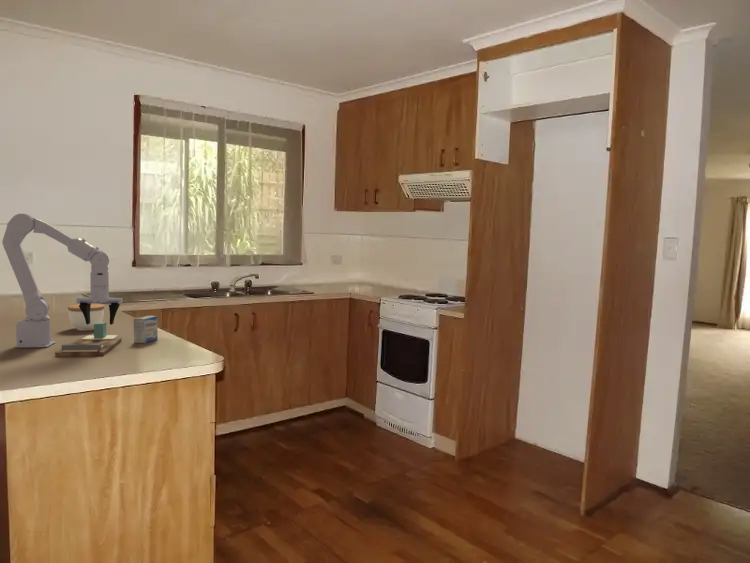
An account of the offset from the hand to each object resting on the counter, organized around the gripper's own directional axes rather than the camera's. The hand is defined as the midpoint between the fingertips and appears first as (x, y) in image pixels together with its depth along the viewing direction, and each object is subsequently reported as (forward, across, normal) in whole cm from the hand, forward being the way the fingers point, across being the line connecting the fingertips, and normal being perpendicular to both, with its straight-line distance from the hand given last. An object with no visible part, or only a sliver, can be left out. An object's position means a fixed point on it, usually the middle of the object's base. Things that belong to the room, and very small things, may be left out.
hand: (99, 324), depth 197 cm
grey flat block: (+5, 0, -18) cm, 18 cm away
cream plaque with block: (+5, 0, 0) cm, 5 cm away
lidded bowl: (+6, -12, +26) cm, 29 cm away
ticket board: (+6, 0, -11) cm, 13 cm away
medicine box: (+6, +15, +1) cm, 17 cm away
